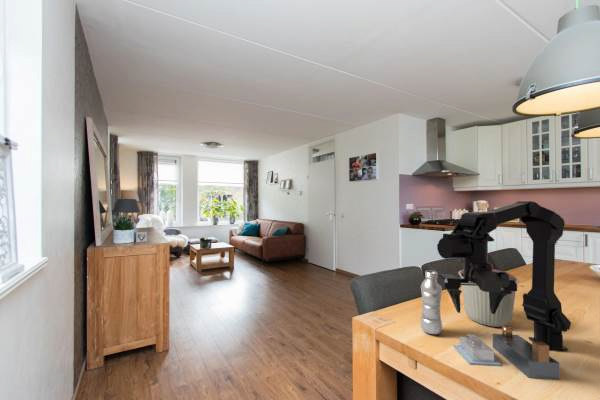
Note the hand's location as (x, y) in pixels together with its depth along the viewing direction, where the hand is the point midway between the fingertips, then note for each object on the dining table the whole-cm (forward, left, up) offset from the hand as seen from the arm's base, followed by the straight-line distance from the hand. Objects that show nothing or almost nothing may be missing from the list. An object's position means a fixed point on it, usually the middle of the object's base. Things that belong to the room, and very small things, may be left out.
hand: (475, 313), depth 76 cm
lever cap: (0, 0, -12) cm, 12 cm away
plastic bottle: (-13, -7, -12) cm, 19 cm away
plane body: (+2, +11, -12) cm, 16 cm away
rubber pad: (0, 0, -12) cm, 12 cm away
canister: (-24, +17, -12) cm, 32 cm away
